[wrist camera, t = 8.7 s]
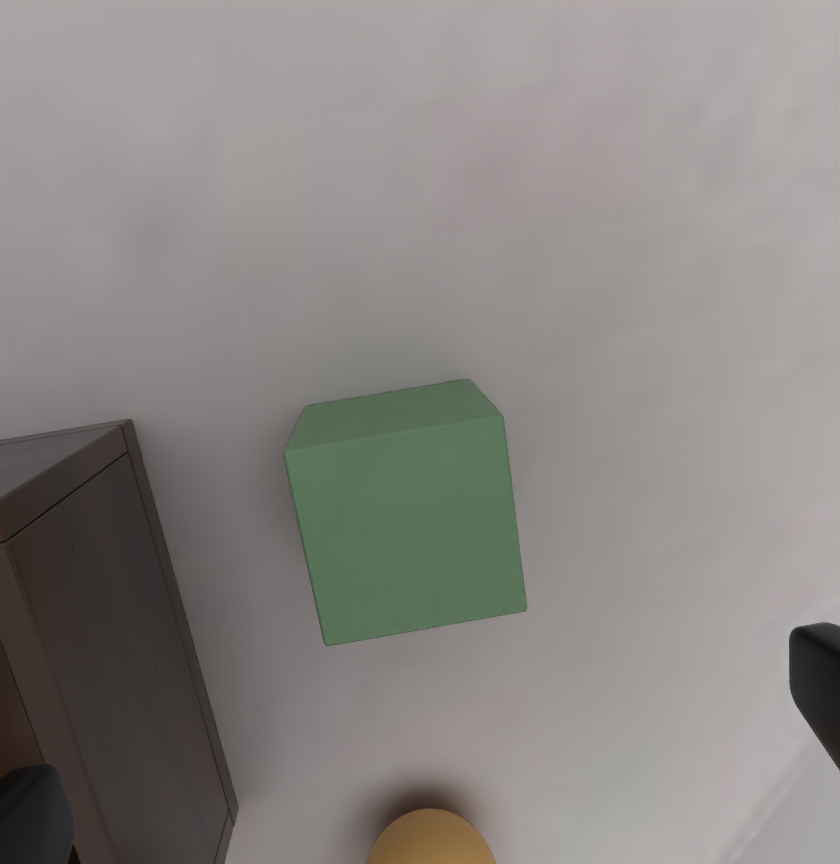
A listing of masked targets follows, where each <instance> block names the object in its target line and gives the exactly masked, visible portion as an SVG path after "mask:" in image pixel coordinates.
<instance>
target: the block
mask: <svg viewBox="0 0 840 864" xmlns="http://www.w3.org/2000/svg"><path fill="white" fill-rule="evenodd" d="M283 457H284V462H285V466H286V471H287V476H288V480H289V485H290V489H291V494H292V499H293V503H294V508H295V512H296V517H297V522H298V526H299V531H300V535H301V540H302V545H303V549H304V554H305V558H306V563H307V568H308V572H309V577H310V581H311V586H312V591H313V595H314V600H315V604H316V609H317V614H318V618H319V623H320V628H321V632H322V637H323V641H324V644H325V645H326V646H333V645H338V644H344V643H349V642H355V641H361V640H366V639H372V638H378V637H383V636H389V635H395V634H400V633H406V632H411V631H417V630H423V629H428V628H434V627H440V626H445V625H451V624H457V623H462V622H468V621H473V620H479V619H485V618H490V617H496V616H502V615H507V614H513V613H519V612H524V611H526V609H527V602H526V594H525V586H524V578H523V570H522V562H521V554H520V546H519V538H518V530H517V521H516V513H515V505H514V497H513V489H512V481H511V473H510V465H509V457H508V449H507V440H506V432H505V424H504V417H503V415H502V414H501V413H500V412H499V411H498V410H497V408H496V407H495V406H494V405H493V404H492V403H491V402H490V401H489V400H488V398H487V397H486V396H485V395H484V394H483V393H482V392H481V391H480V390H479V389H478V387H477V386H476V385H475V384H474V383H473V382H472V381H471V380H470V379H465V380H459V381H453V382H446V383H440V384H434V385H428V386H422V387H416V388H410V389H404V390H398V391H392V392H386V393H380V394H374V395H368V396H362V397H356V398H350V399H343V400H337V401H331V402H325V403H319V404H313V405H307V406H306V407H305V409H304V411H303V413H302V415H301V417H300V419H299V421H298V423H297V425H296V427H295V429H294V431H293V433H292V435H291V437H290V439H289V441H288V443H287V445H286V447H285V449H284V451H283Z"/></svg>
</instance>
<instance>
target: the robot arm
mask: <svg viewBox="0 0 840 864" xmlns="http://www.w3.org/2000/svg"><path fill="white" fill-rule="evenodd" d="M789 684H790V690H791V694H792V697H793V700H794V702H795V704H796V706H797V707H798V709H799V711H800V712H801V714H802V715H803V717H804V718H805V720H806V721H807V723H808V724H809V726H810V727H811V729H812V730H813V732H814V733H815V735H816V736H817V738H818V739H819V740H820V742H821V743H822V745H823V746H824V748H825V749H826V751H827V752H828V754H829V755H830V757H831V758H832V760H833V761H834V763H835V764H836V766H837V767H838V769H839V770H840V626H838V625H835V624H831V623H825V622H822V623H816V624H811V625H805V626H800V627H796V628H795V629H793V630H792V632H791V634H790V637H789ZM74 836H75V819H74V815H73V812H72V809H71V806H70V803H69V801H68V798H67V795H66V792H65V789H64V787H63V784H62V781H61V778H60V775H59V773H58V771H57V769H56V768H55V767H54V766H53V765H52V764H48V763H43V764H37V765H32V766H26V767H21V768H17V769H14V770H12V771H10V772H9V773H7V774H6V775H5V776H3V777H2V778H0V864H67V862H68V858H69V855H70V852H71V848H72V845H73V841H74Z"/></svg>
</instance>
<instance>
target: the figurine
mask: <svg viewBox="0 0 840 864" xmlns="http://www.w3.org/2000/svg"><path fill="white" fill-rule="evenodd" d="M366 864H496V863H495V860H494V857H493V855H492V852H491V850H490V848H489V847H488V845H487V843H486V841H485V840H484V839H483V837H482V836H481V835H480V833H479V832H478V831H477V830H476V829H475V828H474V827H473V826H472V825H471V824H470V823H469V822H467V821H466V820H465V819H463V818H461V817H460V816H458V815H456V814H454V813H451V812H449V811H445V810H441V809H431V808H429V809H420V810H415V811H412V812H409V813H407V814H405V815H403V816H401V817H399V818H398V819H396V820H395V821H393V822H392V823H391V824H390V825H389V826H388V827H387V828H386V829H385V830H384V831H383V832H382V833H381V834H380V836H379V837H378V838H377V840H376V842H375V843H374V845H373V847H372V849H371V851H370V853H369V855H368V858H367V861H366Z"/></svg>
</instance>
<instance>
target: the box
mask: <svg viewBox="0 0 840 864" xmlns="http://www.w3.org/2000/svg"><path fill="white" fill-rule="evenodd" d="M43 763H48V764H52V765H53V766H54V767H55V768H56V769H57V771H58V773H59V775H60V778H61V781H62V784H63V787H64V789H65V792H66V795H67V798H68V801H69V803H70V806H71V809H72V812H73V815H74V819H75V836H74V841H73V845H72V848H71V852H70V855H69V858H68V862H67V864H224V863H225V859H226V855H227V851H228V847H229V843H230V839H231V835H232V831H233V827H234V825H235V821H236V817H237V813H238V809H239V808H238V804H237V801H236V797H235V794H234V790H233V786H232V783H231V779H230V775H229V772H228V768H227V765H226V761H225V757H224V754H223V750H222V747H221V743H220V739H219V736H218V732H217V728H216V725H215V721H214V718H213V714H212V710H211V707H210V703H209V699H208V696H207V692H206V689H205V685H204V681H203V678H202V674H201V670H200V667H199V663H198V660H197V656H196V652H195V649H194V645H193V642H192V638H191V634H190V631H189V627H188V623H187V620H186V616H185V613H184V609H183V605H182V602H181V598H180V594H179V591H178V587H177V584H176V580H175V576H174V573H173V569H172V566H171V562H170V558H169V555H168V551H167V547H166V544H165V540H164V537H163V533H162V529H161V526H160V522H159V518H158V515H157V511H156V508H155V504H154V500H153V497H152V493H151V489H150V486H149V482H148V479H147V475H146V471H145V468H144V464H143V461H142V457H141V453H140V450H139V446H138V442H137V439H136V435H135V432H134V428H133V424H132V421H131V419H126V420H120V421H114V422H108V423H102V424H96V425H90V426H84V427H78V428H71V429H65V430H59V431H53V432H47V433H41V434H35V435H29V436H23V437H17V438H11V439H4V440H0V778H2V777H3V776H5V775H6V774H7V773H9V772H10V771H12V770H14V769H17V768H21V767H26V766H32V765H37V764H43Z"/></svg>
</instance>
